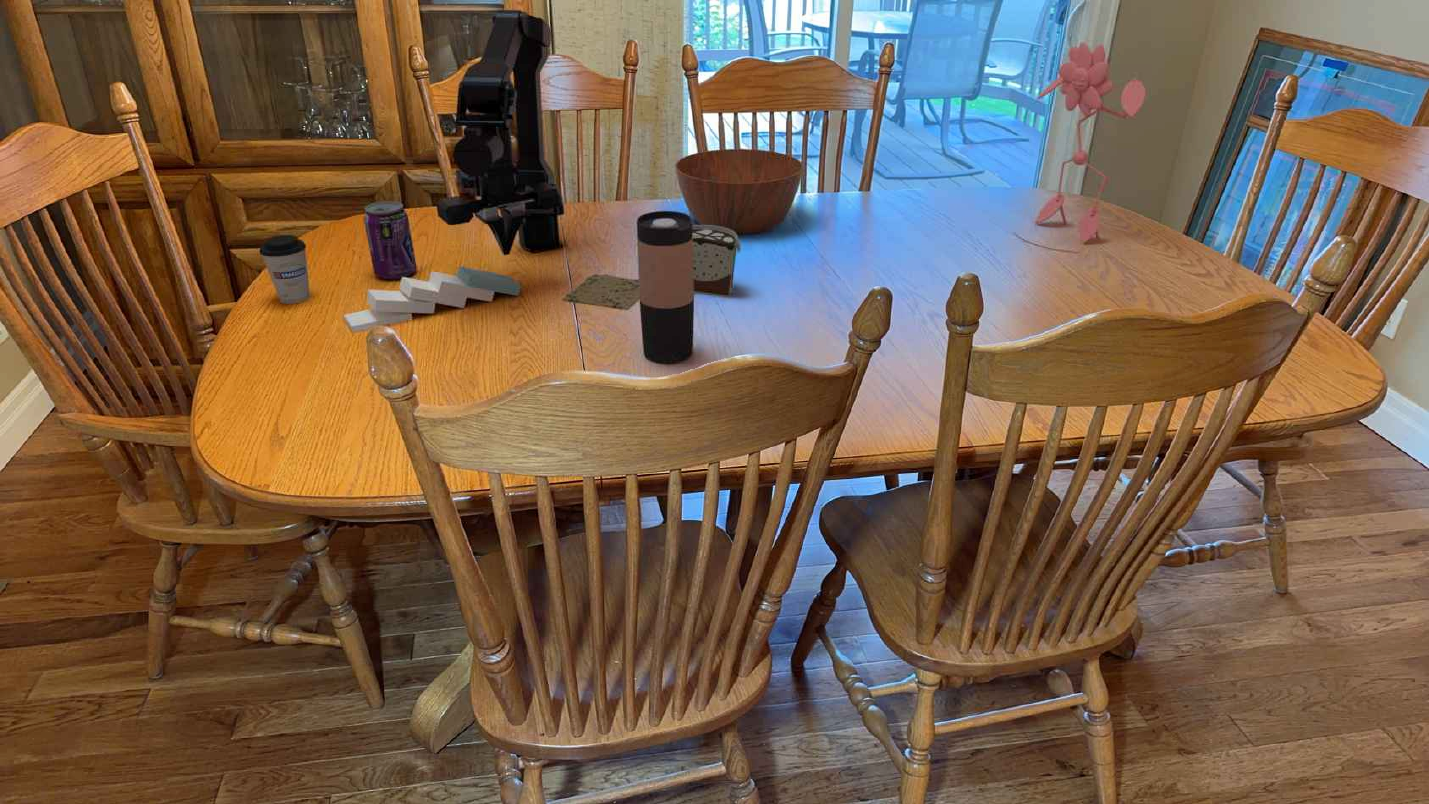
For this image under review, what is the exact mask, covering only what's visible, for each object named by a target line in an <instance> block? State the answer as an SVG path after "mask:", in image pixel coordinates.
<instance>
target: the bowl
mask: <svg viewBox="0 0 1429 804" xmlns="http://www.w3.org/2000/svg"><path fill="white" fill-rule="evenodd" d="M804 169H805V166H804V164H803V162H802V161H801V160H799V159H798V158H796V157H794V156H791V155H788V154H785V153H781V152H777V151H773V150H772V151H771V150H762V149H752V148H750V149H749V148H728V149H727V148H726V149H724V148H723V149H712V150H707V151H700V152H695V153H692V154H688V155H687V156H684V157H682V158H680V159H679V160H678V161H676V162H675V172H676V177H677V178H676V179H677V181H678V185H679V188H680V189H679V190H680V192H681V196H682V198H683V200H684V201H683V202H684V204H685V206H686V208H687V210H688V212H689V213H690V215H691V218H692V219H694V220H695V221H696V222H697V224H698V225H714V226H720V227H725V228H728V229H730V230H732V231H734V232H735V233H736V234H737V235H747V234H757V233H761V232H766V231H768V230H771V229H773V228H776V226H778V225H779V224H781V222H783V220H785V218H786V216H787V215H788V213H789V211H790V209H791V207H792V205H793V203H794V201H795V198H796V196H797V193H798V189H799V187H800V184H801V180H802V176H803V173H804V172H803V171H804Z"/></svg>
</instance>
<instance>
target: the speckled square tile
mask: <svg viewBox="0 0 1429 804" xmlns="http://www.w3.org/2000/svg"><path fill="white" fill-rule="evenodd" d="M562 301H563V302H567V303H575V304H582V305H589V306H595V307H596V306H598V307H602V308H604V307H605V308H611V309H618V310H625V311H628V310H630V309H631V308H632V307H633V306H635V305H636V303H637V302H638V303H639V301H640V299H639V278H637V279H635V278H634V279H632V278H625V277H617V276H614V275H609V274H605V273H604V274H599V273H598V274H592V275H591V276H589V277H587V279H585V280H584V281H583V282H582V283H580V285H578V286H577V287H576V288H575V289H574V290H572V291H571V292H570V293H567V295H566V296H564V297H563V298H562Z"/></svg>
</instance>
